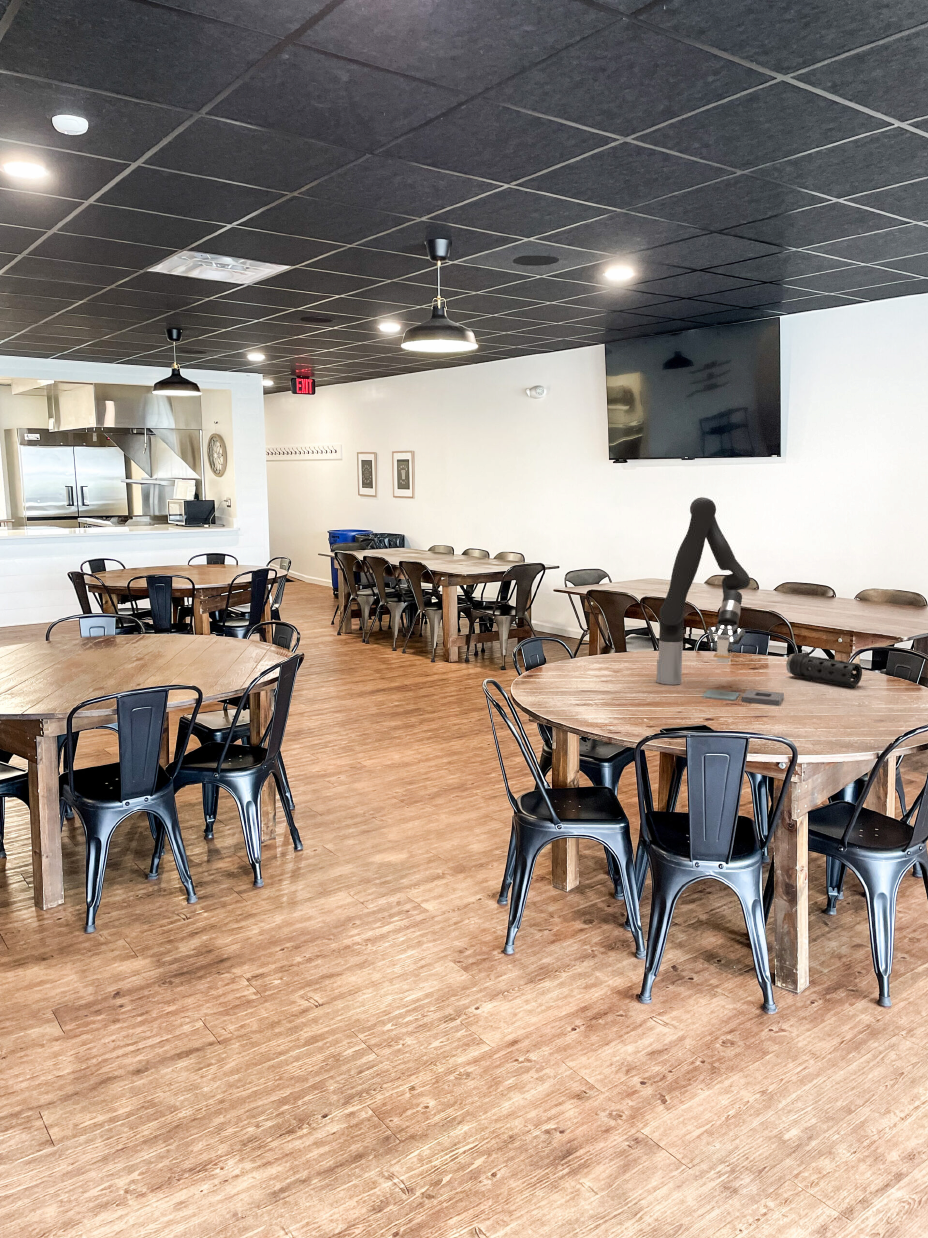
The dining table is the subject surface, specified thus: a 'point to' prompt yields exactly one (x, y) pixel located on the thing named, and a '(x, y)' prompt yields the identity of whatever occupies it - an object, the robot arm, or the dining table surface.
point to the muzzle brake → (824, 670)
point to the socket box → (763, 697)
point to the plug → (723, 649)
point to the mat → (721, 695)
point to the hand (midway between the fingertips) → (722, 651)
